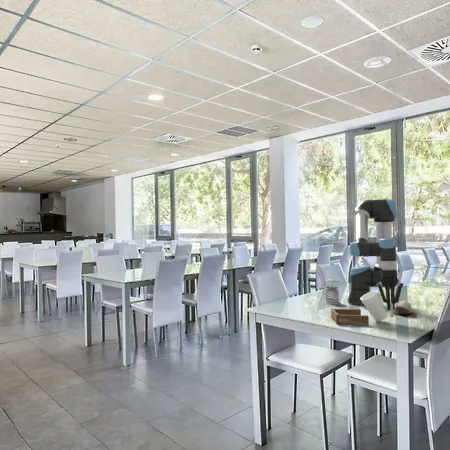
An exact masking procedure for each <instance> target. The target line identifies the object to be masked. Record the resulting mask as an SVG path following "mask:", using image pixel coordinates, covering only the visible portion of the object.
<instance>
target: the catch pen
mask: <svg viewBox="0 0 450 450" xmlns="http://www.w3.org/2000/svg"><path fill="white" fill-rule="evenodd" d="M330 316H331V319H332V321H334V323H335V324H336V325H339V326H340V325H343V326H347V325H348V326H369V325H370V322H369V319H370V317H369V315H368V314H367V315H365V314H364V315H363V314H362V310H361V309H360V308H330Z"/></svg>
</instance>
